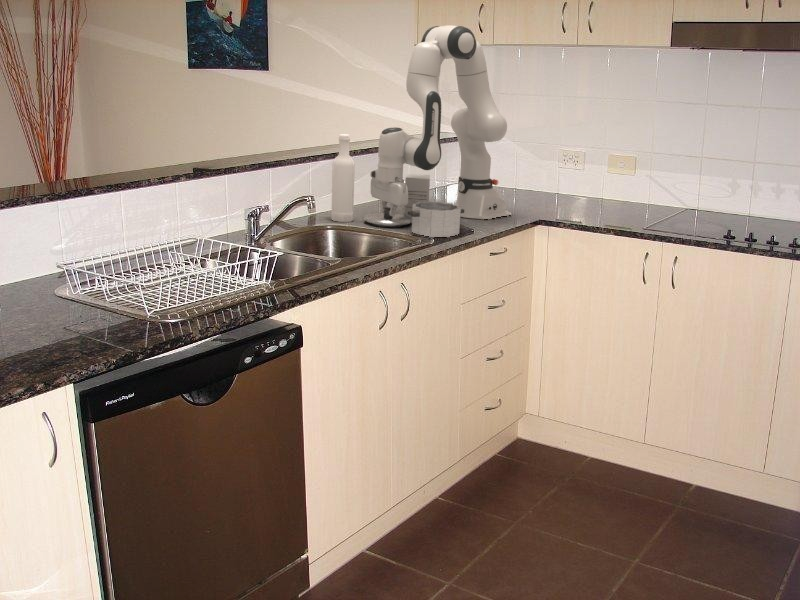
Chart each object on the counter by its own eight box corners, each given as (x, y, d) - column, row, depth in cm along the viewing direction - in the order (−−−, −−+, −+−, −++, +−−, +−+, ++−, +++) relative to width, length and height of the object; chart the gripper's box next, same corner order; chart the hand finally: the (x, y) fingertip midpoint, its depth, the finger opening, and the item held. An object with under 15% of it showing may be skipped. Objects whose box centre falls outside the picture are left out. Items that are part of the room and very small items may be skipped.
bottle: (351, 217, 317) (353, 133, 308) (355, 222, 309) (358, 136, 300) (329, 217, 315) (331, 132, 306) (332, 222, 307) (335, 135, 299)
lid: (396, 217, 322) (396, 202, 320) (421, 226, 308) (422, 211, 306) (355, 220, 313) (355, 204, 311) (379, 230, 299) (379, 214, 298)
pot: (446, 225, 312) (448, 200, 309) (473, 235, 299) (475, 208, 296) (397, 229, 301) (398, 203, 299) (422, 239, 288) (424, 212, 286)
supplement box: (403, 213, 329) (405, 173, 324) (427, 214, 329) (430, 174, 324) (403, 218, 320) (405, 177, 316) (427, 219, 320) (430, 178, 316)
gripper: (413, 179, 299) (411, 219, 303) (383, 170, 315) (381, 208, 319) (397, 180, 296) (395, 221, 300) (367, 171, 312) (366, 209, 316)
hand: (388, 214), depth 310 cm, fingers closed on lid, 3 cm apart
